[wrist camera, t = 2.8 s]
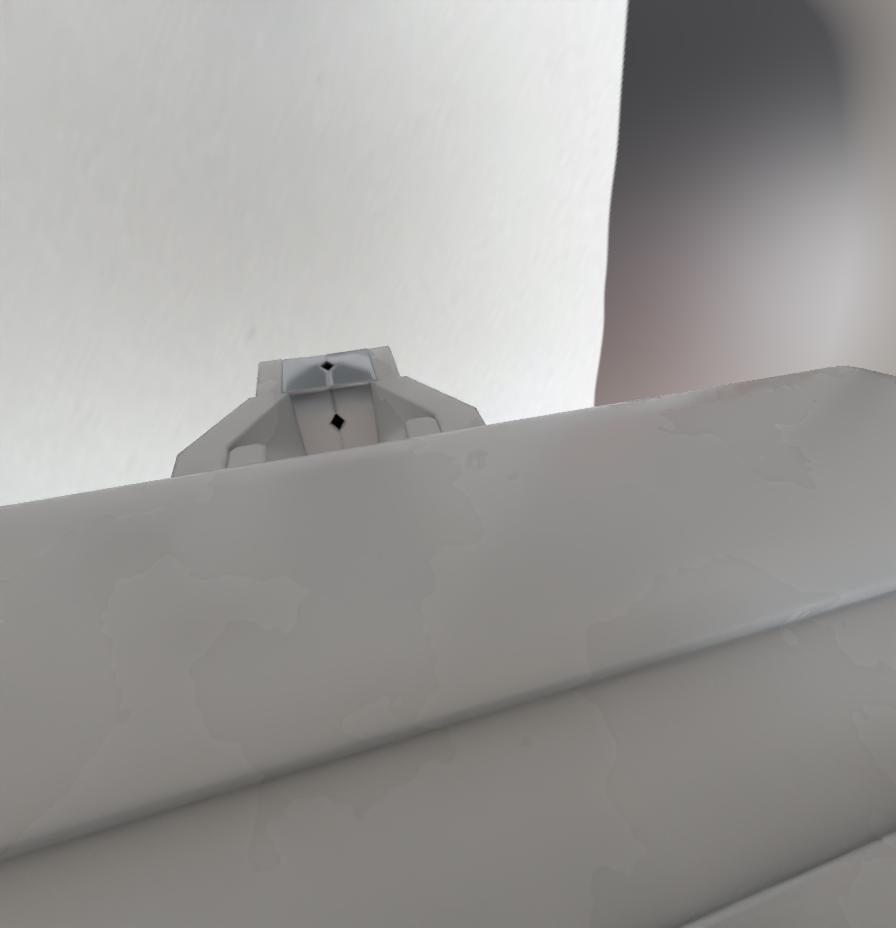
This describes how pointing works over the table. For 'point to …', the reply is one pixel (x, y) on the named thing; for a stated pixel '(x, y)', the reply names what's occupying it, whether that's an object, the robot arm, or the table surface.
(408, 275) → the table surface
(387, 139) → the table surface
